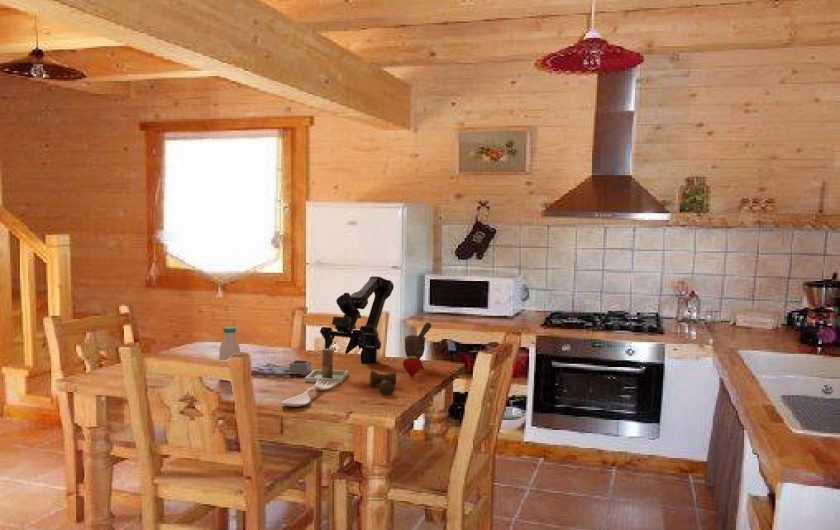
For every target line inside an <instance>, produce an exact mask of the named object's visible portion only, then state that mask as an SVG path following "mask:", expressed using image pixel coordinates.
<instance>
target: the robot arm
mask: <svg viewBox="0 0 840 530" xmlns="http://www.w3.org/2000/svg"><path fill="white" fill-rule="evenodd" d="M394 287H395V286H394V282H393V281H392V280H390V279H386V278H383V277H381V276H377V275H375V276H373V275H372V276H370V277H369V280H368V281H366V283H365V284H364V285H363V286H362V288H360V290H358V291H355V292H353V293H352V294H350V293H349V292H344V293H343V294H341V295H339V296H338V297H337V298H336V305H337V306H338V308H339V311H340V312H341V313H343V316H333V317H332V322H331V325H332V326H335V330H333V329H332V326H331V327H330V326H329V327H328V326H322V327H321V328H320V330H319V333H320V334H321V336H322V338H323V339H324V349H331V346H332V345H333V343H334V339H335V337H340V338H347V339H349V342H348V344H347V346H346V348H345V351H344V354H345V355H348V354H350V352H351V351H353V350H354V349H355V348H357V347H358V349H361V351H360V364H371V363H375V364H377V363H378V361H379V359H378V350H380V349H381V347H382V342H381V340H380V339H379V332H378V327H379V322H380V319H381V316H382V312H383V309H384V306H385V302H386V300H387V299H388V298H390V296H391V295H392V292H393V291H394ZM373 294H374V298H373V302H372V305H371V308H370V310H369V314H368V318H367V320H366V321H367V322H366V323H365V325H362V326H360V329H356V328H357V326H356V323H357V321H358V319H361V318H362V315H361V312H360V310H364V309H366V307H367V306H368V303H369V299H370V297H371V296H372V295H373Z"/></svg>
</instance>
